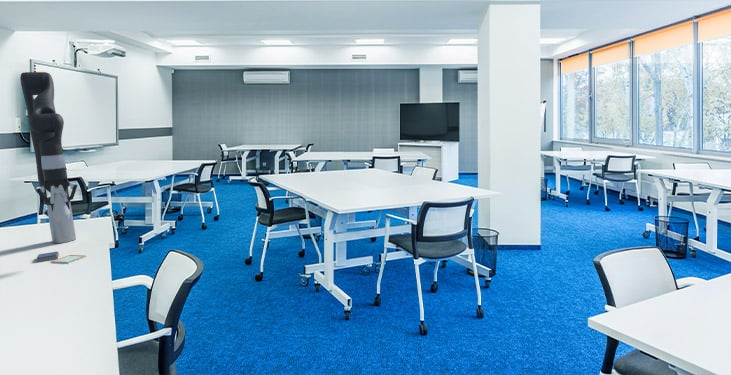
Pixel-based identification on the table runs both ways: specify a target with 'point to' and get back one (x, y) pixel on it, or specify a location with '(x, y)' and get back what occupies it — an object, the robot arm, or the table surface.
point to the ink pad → (47, 256)
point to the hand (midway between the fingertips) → (61, 212)
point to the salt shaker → (60, 206)
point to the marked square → (68, 259)
